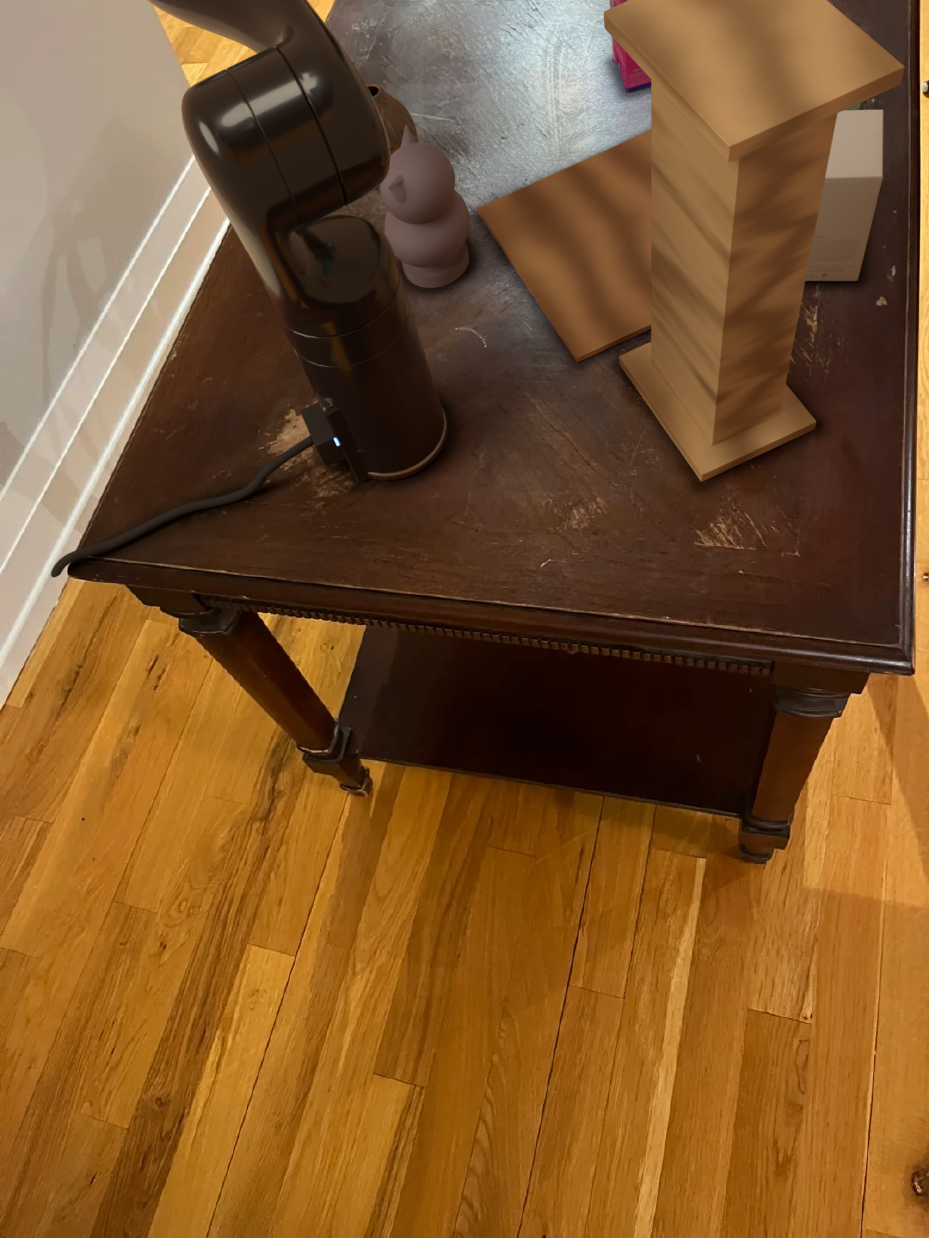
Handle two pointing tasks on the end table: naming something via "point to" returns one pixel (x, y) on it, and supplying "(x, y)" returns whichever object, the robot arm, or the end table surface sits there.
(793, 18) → the wooden pedestal column
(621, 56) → the supplement box
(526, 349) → the end table surface
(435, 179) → the cat figurine
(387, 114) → the vase
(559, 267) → the flat wooden board
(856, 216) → the small box
